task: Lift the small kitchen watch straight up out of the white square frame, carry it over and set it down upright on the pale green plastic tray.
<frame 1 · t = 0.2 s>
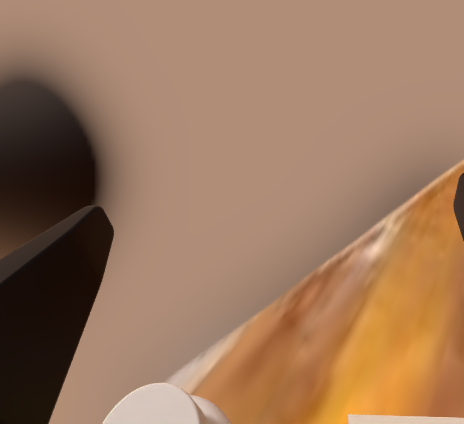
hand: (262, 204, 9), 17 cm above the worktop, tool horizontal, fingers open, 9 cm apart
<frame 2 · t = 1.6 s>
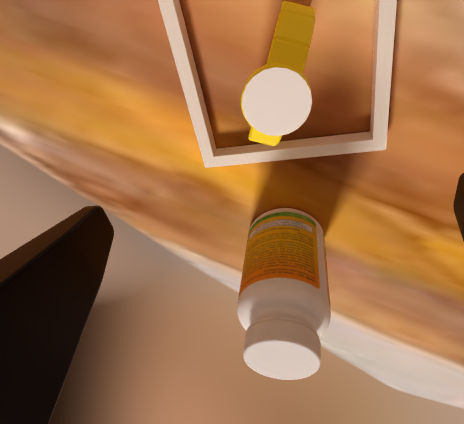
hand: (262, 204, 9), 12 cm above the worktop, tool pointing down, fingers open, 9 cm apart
supplement bottle: (285, 232, 26), on the worktop
watch: (280, 60, 18), on the worktop
white square frame: (280, 62, 18), on the worktop
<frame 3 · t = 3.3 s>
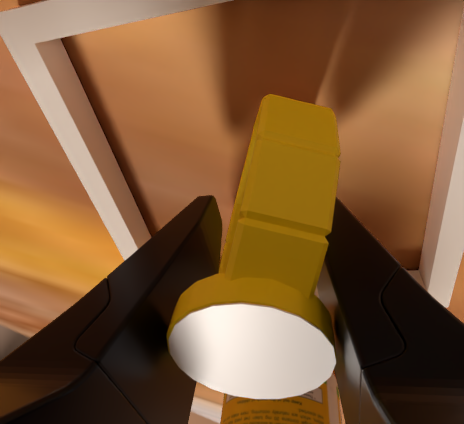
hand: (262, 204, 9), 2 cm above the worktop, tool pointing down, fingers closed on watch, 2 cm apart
supplement bottle: (281, 371, 18), on the worktop
watch: (267, 166, 10), on the worktop, touching gripper
white square frame: (267, 170, 10), on the worktop
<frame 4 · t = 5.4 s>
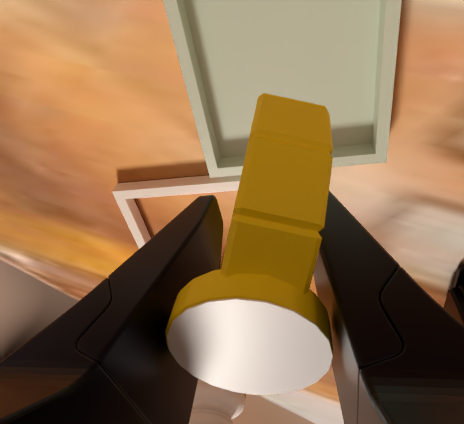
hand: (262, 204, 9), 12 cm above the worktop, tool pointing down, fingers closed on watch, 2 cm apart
supplement bottle: (224, 325, 34), on the worktop
tray: (284, 53, 18), on the worktop
watch: (267, 166, 10), point 10 cm above the worktop, touching gripper
white square frame: (205, 234, 27), on the worktop
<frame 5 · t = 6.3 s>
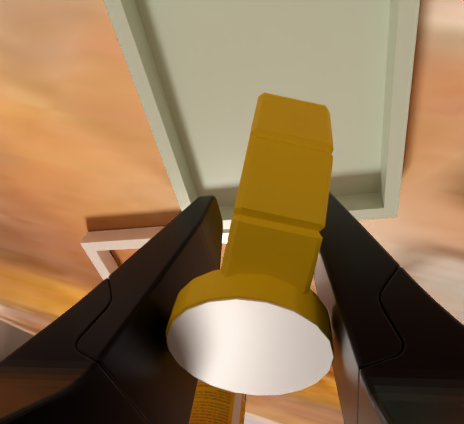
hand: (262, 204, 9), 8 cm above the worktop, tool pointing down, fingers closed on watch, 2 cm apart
supplement bottle: (217, 371, 31), on the worktop
tray: (271, 92, 15), on the worktop
watch: (267, 165, 10), point 6 cm above the worktop, touching gripper
white square frame: (190, 284, 24), on the worktop
when the fingers open (3 cm above the worktop, at t = 7.3 s): watch stays where it is, resting on tray.
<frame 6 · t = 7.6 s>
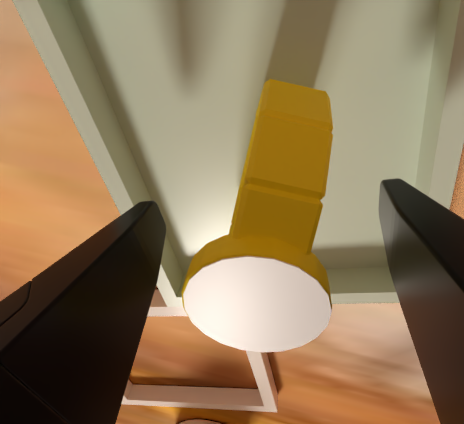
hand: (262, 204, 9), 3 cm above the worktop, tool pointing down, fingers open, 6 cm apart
tray: (267, 147, 11), on the worktop
watch: (269, 152, 11), resting on tray
white square frame: (175, 348, 20), on the worktop
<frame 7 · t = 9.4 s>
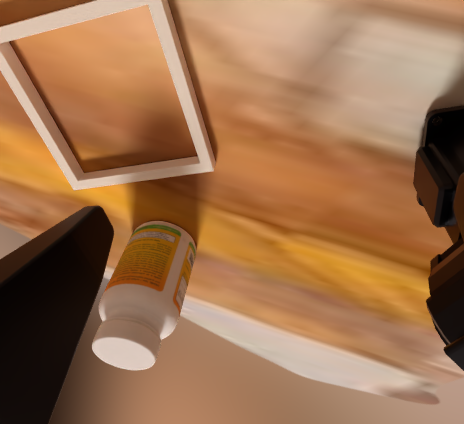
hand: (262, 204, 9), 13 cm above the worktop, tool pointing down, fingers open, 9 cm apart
supplement bottle: (165, 241, 29), on the worktop
white square frame: (112, 101, 21), on the worktop
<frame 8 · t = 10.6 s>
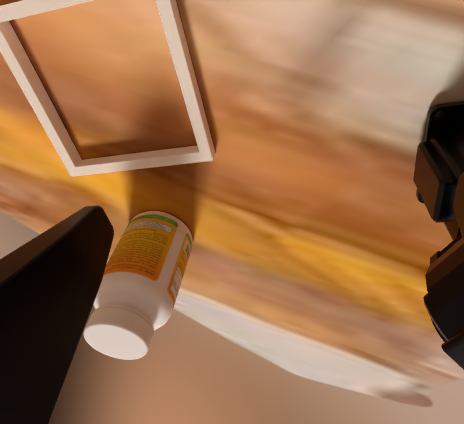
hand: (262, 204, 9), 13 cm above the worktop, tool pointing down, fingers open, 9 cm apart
supplement bottle: (162, 232, 29), on the worktop
white square frame: (113, 87, 21), on the worktop
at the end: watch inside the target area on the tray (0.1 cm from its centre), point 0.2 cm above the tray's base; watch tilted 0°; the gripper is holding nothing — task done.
